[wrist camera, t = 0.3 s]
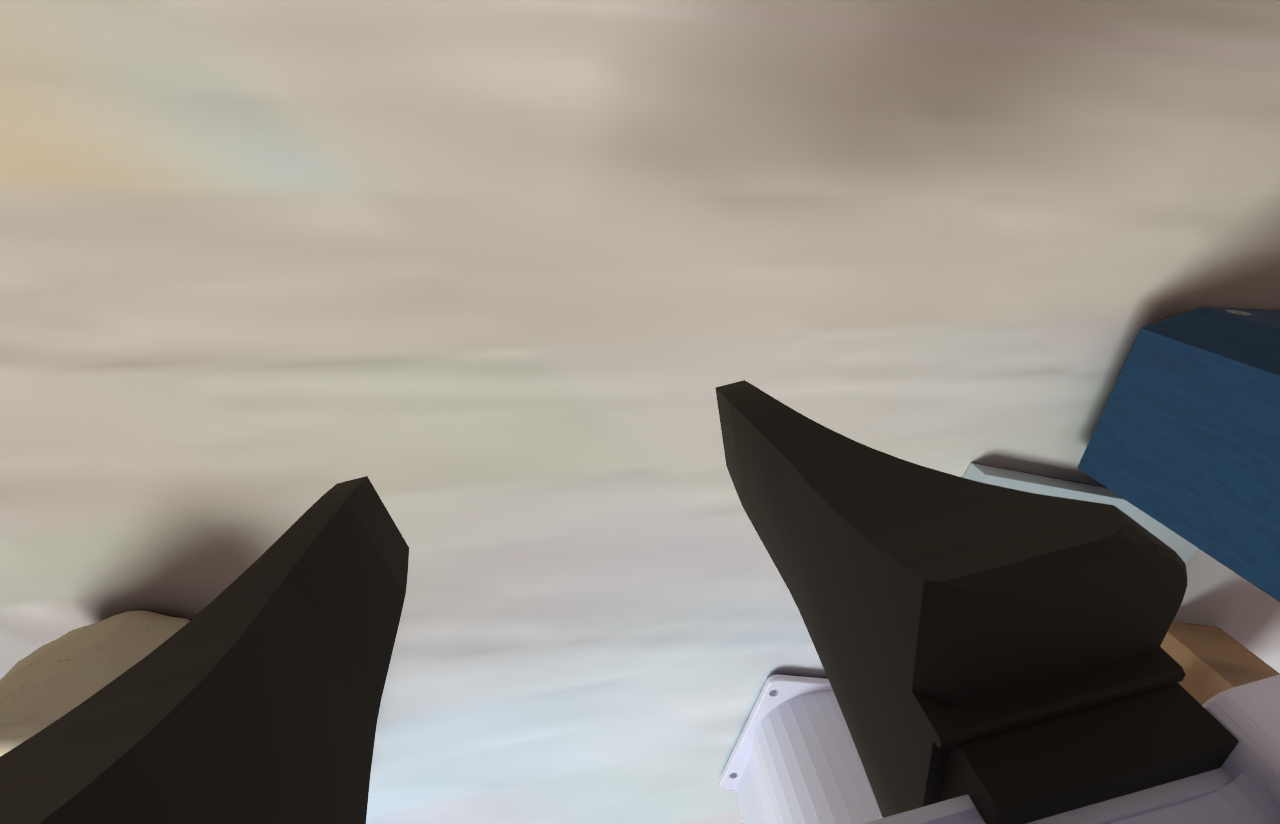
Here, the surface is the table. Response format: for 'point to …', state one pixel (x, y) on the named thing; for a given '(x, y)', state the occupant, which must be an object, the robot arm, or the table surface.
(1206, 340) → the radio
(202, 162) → the table surface
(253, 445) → the table surface
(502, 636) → the table surface
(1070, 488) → the board
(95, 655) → the ceramic sculpture
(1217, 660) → the walnut block
